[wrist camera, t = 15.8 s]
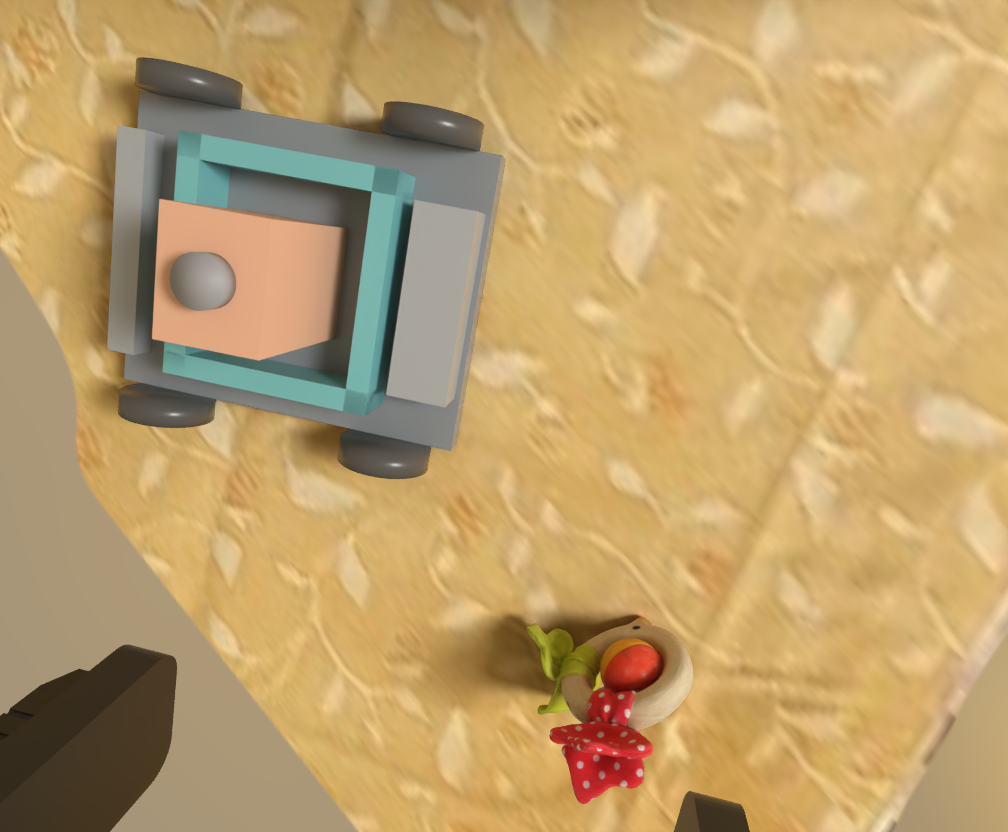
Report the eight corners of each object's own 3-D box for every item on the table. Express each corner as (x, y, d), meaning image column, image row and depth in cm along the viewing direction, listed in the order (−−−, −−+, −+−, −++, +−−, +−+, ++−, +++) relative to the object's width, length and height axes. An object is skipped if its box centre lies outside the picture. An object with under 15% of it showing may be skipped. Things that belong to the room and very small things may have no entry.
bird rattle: (619, 564, 44) (490, 637, 42) (713, 626, 33) (545, 726, 31) (657, 650, 45) (532, 724, 43) (761, 737, 34) (600, 841, 32)
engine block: (260, 212, 38) (144, 196, 29) (348, 228, 38) (260, 217, 28) (251, 321, 40) (137, 341, 30) (335, 338, 39) (247, 363, 30)
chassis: (157, 74, 39) (94, 48, 34) (509, 135, 37) (495, 117, 32) (139, 393, 43) (80, 410, 38) (452, 463, 41) (432, 490, 37)
